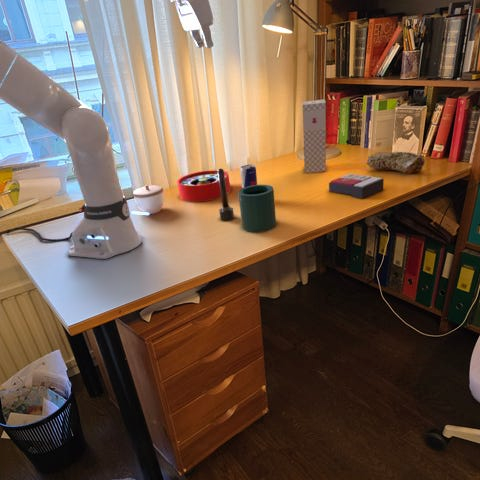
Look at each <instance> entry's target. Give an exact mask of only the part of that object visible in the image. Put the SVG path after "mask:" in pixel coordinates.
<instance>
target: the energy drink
mask: <svg viewBox="0 0 480 480" xmlns="http://www.w3.org/2000/svg"><path fill="white" fill-rule="evenodd" d="M240 178H241V189H242V188H244V187H247V186H252V185H258V175H257V168H256V165H255V164H244V165H242V166H240Z"/></svg>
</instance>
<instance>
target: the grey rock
mask: <svg viewBox="0 0 480 480" xmlns="http://www.w3.org/2000/svg"><path fill="white" fill-rule="evenodd" d="M425 162H426V160H425V158H424V157H423V156H421V155H419V154H416V153H414V152H408V151H377V152H374V153H372V154H371V155H369V156H367V159H366V163H365V164H366V165H367V166H369V168H371V169H374V170H380V171H398V172H401V173H404V174H413V173H419V172H421V171H422V169H423V167H424V165H425Z"/></svg>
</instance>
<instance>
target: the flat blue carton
mask: <svg viewBox="0 0 480 480" xmlns="http://www.w3.org/2000/svg"><path fill="white" fill-rule="evenodd" d="M384 183H385V181H384V178H382V177H376V176H372V175H363V174H361V175H360V174H354V173H348V174H345V175H343V176H341V177H337V178H334V179H332V180H330V182H329V183H328V191H329V192H330V193H338V194H342V195H343V194H344V195H351V196H353V197H354V198H358V199H366V198H368V197H369V196H372V195H374V194H376V193H378V192H382V191H383V190H384Z"/></svg>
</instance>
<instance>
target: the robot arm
mask: <svg viewBox="0 0 480 480" xmlns="http://www.w3.org/2000/svg"><path fill="white" fill-rule="evenodd" d="M169 1H170V3H172V2H174V5H175V9H176V12H177V15H178V18H179V21H180V23H181V27H182V28H183V30H184V31H185V32H189V33H190V35H191V37H192V39H193V41H194V42H195V45H196V48H197V49H201V48H203V47H204V46H205V48H206V49H212V48H213V47H214V41H213V39H212V32H211V28H210V27H211V26H212V25H214V16H213V11H212V7H211V4H210V1H209V0H169ZM200 33H201V34H200ZM201 35H202V37H203V38H202V37H201ZM0 100H2V101H3V102H5V103H6V104H7V105H9V106H11V107H12V108H14V109H15V110H17V111H18V112H19V113H21V114H23V115H24V116H26V118H29V119H30V120H32V121H34V122H35V123H37V124H38V125H40V126H41V127H42V128H45V129H46V130H48V131H49V132H51V133H53V134H54V135H56V136H57V137H58V138H60V139H61V140H63V141H64V142H65V143H66V146H67V150H68V153H69V156H70V159H71V163H72V166H73V170H74V174H75V177H76V180H77V184H78V186H79V189H80V192H81V194H82V198H83V201H84V204H83V205H81V207H80V208H79V209H78V211H79V213H80V214H81V213H83V217H82V219H81V221H80V222H78V224H77V225H76V227H75V228H74V229H73V230H72V232H70V234H69V236H68V237H65V238H55V239H53V238H46V237H43V236H42V235H41V234H40V232H38V231H37V230H35V229H33V228H28V227H27V228H26V227H21V226H20V227H18V226H16V227H17V228H15V229H14V230H22V231H30V232H33V233H34V234H36V235H37V236H38V237H39V239H40V240H42V241H44V242H63V241H69V240H72V245H71V246H70V247H69V248H68V251H67V253H68V256H71V257H80V258H90V259H100V260H106V259H110V258H112V257H114V256H117V255H121V254H124V253H128V252H129V251H132V250H134V249H136V248H137V247H138V246H139V245H141V244H142V238H141V236H140V234H139V233H138V231H137V228H136V226H135V225H134V222H133V220H132V218H131V214H132V215H140V216H142V215H144V216H150V214H149V213H145V212H144V211H131V212H130V208H129V204H128V201H127V197H126V196H125V195H124V192H123V188H122V186H121V185H122V184H121V181H120V177H119V175H118V169H117V166H116V160H115V154H114V150H113V144H112V140H111V136H110V131H109V128H108V124H107V121H106V120H105V119H104V117H103V116H102V115H101V114H100V113H99V112H98V111H97V110H95V109H93V108H90V107H89V106H87V105H86V104H84V102H82V101H81V100H80V99H78V98H77V97H75V96H74V95H73V94H72V93H70V92H69V91H68V90H67V89H65V88H64V87H62V86H61V84H59V83H58V82H56V81H55V80H54V79H53V78H52V77H50V75H47V74H46V73H45V72H44V71H43V70H41V69H40V68H38V67H37V66H36V65H34V64H33V63H32V62H31V61H29V60H28V59H27V58H25V57H24V56H23V55H22V54H20V53H18V52H17V51H16V50H14V49H13V48H12V47H10V45H8V44H6V43H5V42H4V41H3V40H2V39H1V38H0ZM11 231H12V230H9V229H7V231H6V234H8V233H10V232H11Z"/></svg>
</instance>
